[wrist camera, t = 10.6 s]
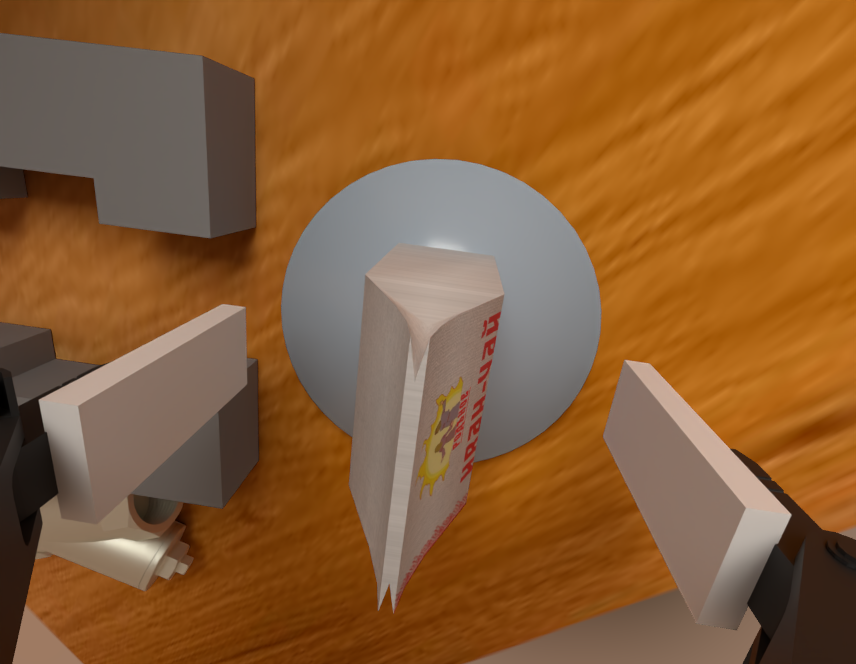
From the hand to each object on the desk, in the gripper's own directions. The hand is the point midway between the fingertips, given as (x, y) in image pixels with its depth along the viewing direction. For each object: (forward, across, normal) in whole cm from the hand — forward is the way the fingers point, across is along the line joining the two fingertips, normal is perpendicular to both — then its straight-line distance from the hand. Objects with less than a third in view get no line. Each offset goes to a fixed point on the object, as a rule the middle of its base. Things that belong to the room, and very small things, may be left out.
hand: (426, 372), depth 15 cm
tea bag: (+5, 0, 0) cm, 5 cm away
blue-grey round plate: (+5, 0, 0) cm, 5 cm away
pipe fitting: (+6, -15, -13) cm, 21 cm away
